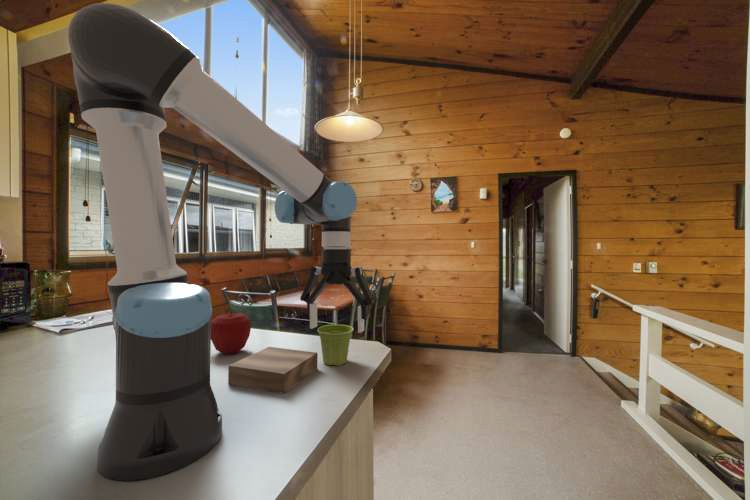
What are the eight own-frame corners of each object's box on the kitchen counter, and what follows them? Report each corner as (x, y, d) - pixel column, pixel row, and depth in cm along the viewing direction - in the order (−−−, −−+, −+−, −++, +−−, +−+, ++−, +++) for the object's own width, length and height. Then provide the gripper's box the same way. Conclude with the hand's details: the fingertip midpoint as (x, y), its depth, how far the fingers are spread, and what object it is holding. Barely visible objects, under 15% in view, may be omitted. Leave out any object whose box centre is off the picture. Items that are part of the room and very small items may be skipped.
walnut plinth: (284, 393, 64) (284, 373, 64) (228, 384, 68) (228, 365, 68) (317, 368, 77) (317, 352, 77) (268, 362, 81) (268, 346, 81)
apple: (238, 344, 96) (238, 306, 96) (258, 351, 90) (259, 310, 90) (201, 353, 87) (201, 311, 87) (221, 362, 81) (221, 316, 81)
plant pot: (360, 361, 82) (360, 328, 82) (332, 371, 75) (332, 335, 75) (337, 353, 89) (337, 322, 89) (309, 362, 82) (309, 328, 82)
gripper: (386, 248, 82) (386, 329, 82) (301, 248, 89) (302, 322, 90) (377, 248, 75) (377, 337, 75) (286, 248, 82) (287, 329, 83)
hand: (336, 329), depth 82 cm, fingers open, 13 cm apart
